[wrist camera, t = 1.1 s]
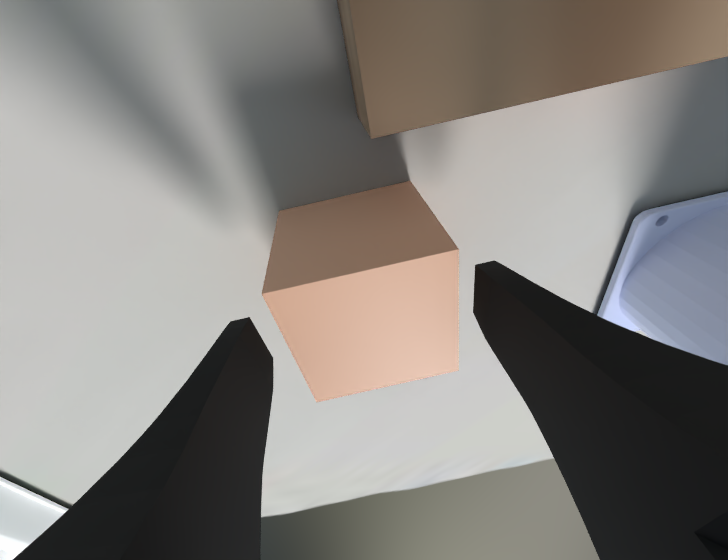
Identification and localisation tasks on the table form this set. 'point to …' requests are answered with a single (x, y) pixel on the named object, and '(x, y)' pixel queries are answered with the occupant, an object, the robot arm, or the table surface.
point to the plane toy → (23, 518)
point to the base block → (511, 51)
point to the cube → (365, 291)
